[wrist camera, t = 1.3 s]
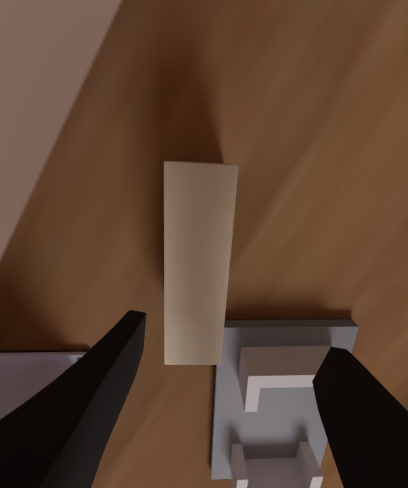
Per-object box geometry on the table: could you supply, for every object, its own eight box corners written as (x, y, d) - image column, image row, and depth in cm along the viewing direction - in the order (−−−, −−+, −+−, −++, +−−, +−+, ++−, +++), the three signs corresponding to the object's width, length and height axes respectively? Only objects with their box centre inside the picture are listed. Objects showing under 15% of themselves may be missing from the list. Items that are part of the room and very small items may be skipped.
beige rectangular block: (172, 308, 21) (164, 364, 15) (173, 160, 17) (163, 161, 11) (213, 309, 21) (220, 364, 15) (223, 163, 17) (238, 165, 12)
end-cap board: (210, 468, 28) (213, 517, 24) (217, 320, 21) (223, 355, 17) (313, 464, 28) (332, 511, 25) (351, 319, 22) (385, 352, 18)
